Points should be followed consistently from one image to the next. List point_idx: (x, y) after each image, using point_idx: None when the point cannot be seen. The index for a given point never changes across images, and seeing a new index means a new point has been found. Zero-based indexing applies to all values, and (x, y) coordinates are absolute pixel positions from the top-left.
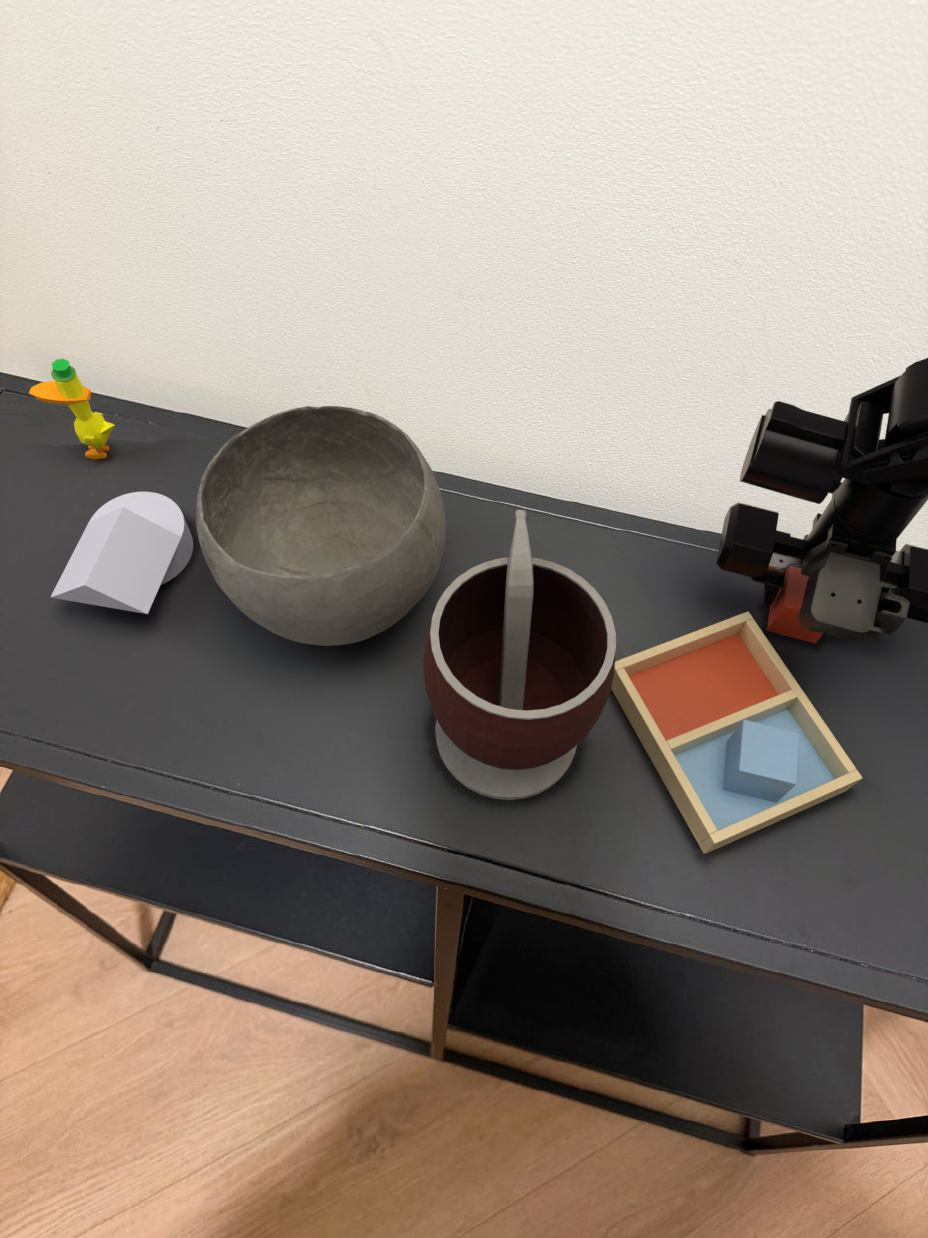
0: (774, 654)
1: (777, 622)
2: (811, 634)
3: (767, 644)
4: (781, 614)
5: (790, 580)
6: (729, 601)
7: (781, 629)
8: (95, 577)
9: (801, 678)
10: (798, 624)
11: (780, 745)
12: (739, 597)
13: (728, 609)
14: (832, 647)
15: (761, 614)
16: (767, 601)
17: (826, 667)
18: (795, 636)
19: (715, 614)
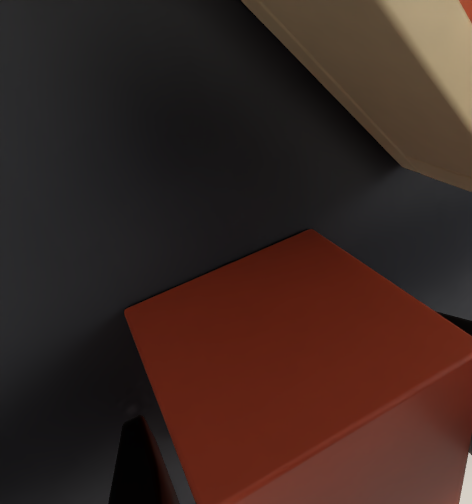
0: (421, 6)
1: (348, 268)
2: (183, 328)
3: (461, 67)
4: (404, 304)
5: (454, 469)
6: (431, 244)
7: (292, 261)
8: None
9: (88, 90)
10: (283, 323)
11: None
12: (406, 277)
13: (431, 216)
14: (46, 347)
15: None
16: None
17: (7, 240)
18: (217, 278)
19: None
